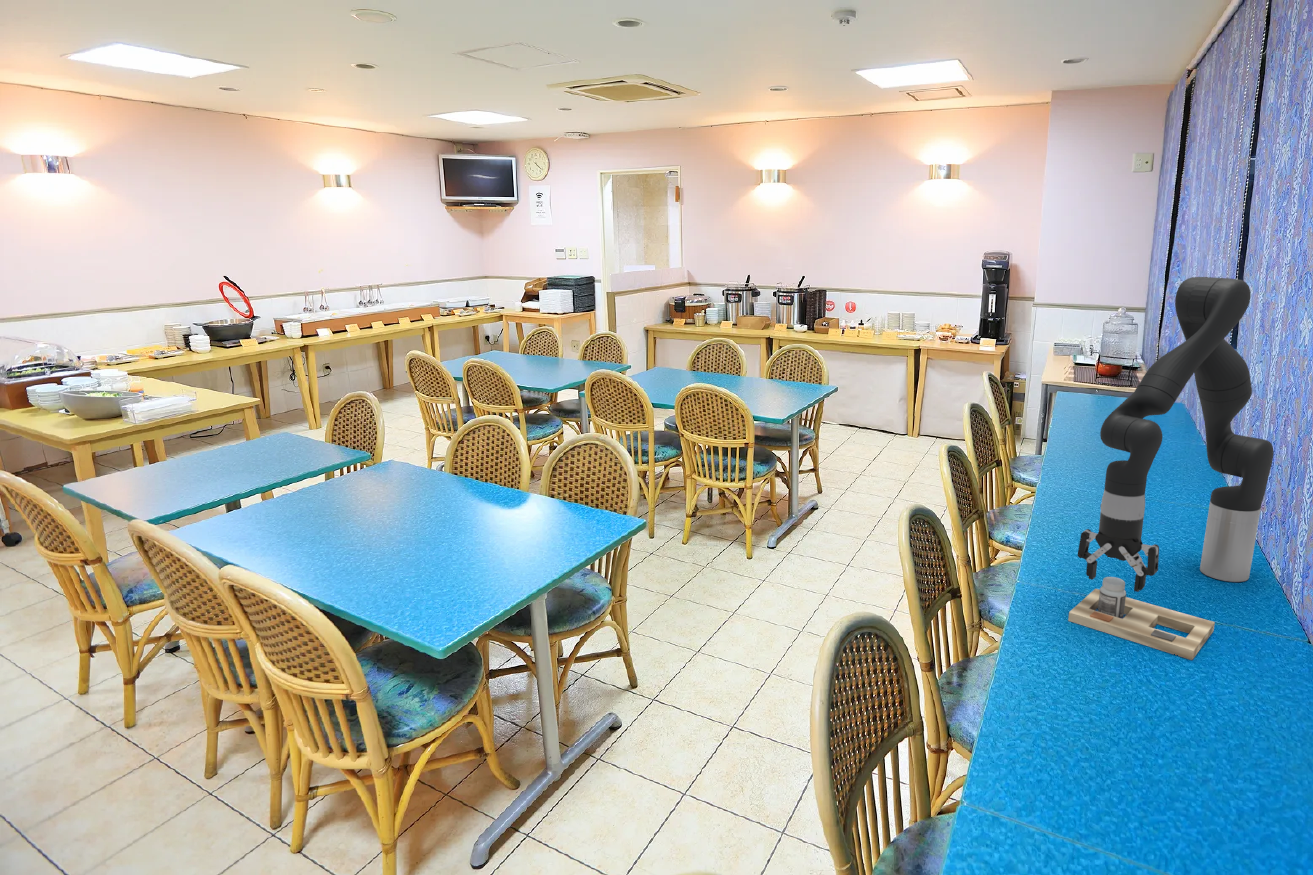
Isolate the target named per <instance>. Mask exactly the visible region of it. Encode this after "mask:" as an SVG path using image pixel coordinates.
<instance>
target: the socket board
mask: <svg viewBox="0 0 1313 875" xmlns="http://www.w3.org/2000/svg"><path fill="white" fill-rule="evenodd" d="M1099 594H1100V588H1094V589H1093V590H1092V591H1091V592H1090V593H1089V594H1087V596H1086V597H1085V598H1083V599H1082V600H1081V601H1080V602H1079V603H1078V604H1077V605H1076V606H1074V607H1073V608H1072V609H1070V611H1069V612H1068V620H1067V621H1068V622H1071V623H1074V624H1077V625H1081V626H1084V627H1086V628H1090V629H1093V630H1096V631H1100V632H1103V633H1104V634H1105V633H1106V634H1109V635H1112V636H1115V637H1118V638H1121V639H1123V640H1127V641H1131V642H1134V643H1137V644H1140V645H1143V646H1147V647H1148V648H1149V647H1150V648H1152V649H1156V650H1159V651H1161V652H1166V653H1168V654H1171V655H1174V654H1175V656H1177V655H1178V656H1177V657H1180V658H1184V659H1187V660H1190V661H1193V660H1194V658H1195V657H1196V656H1197V654H1198V653H1199V651H1200V650H1201V649H1202V647H1203V646H1204V645H1205V643H1206V642H1207V641H1208V639H1209V638H1210V636H1211V635H1212V634H1213V633H1214V630H1215V623H1216V622H1215V621H1213V620H1208V619H1204V618H1201V617H1198V616H1194V615H1190V614H1187V613H1184V612H1179V611H1178V610H1177V611H1176V610H1174V609H1173V610H1172V609H1170V608H1166V607H1163V606H1160V605H1155V604H1151V603H1148V602H1145V601H1141V600H1137V599H1134V598H1131V597H1128V596H1126V599H1125V608H1124V617H1123V619H1121V618H1118V617H1115V616H1111V615H1108V614H1105V613H1101V612H1098V603H1099ZM1157 625H1160V626H1163V627H1166V628H1170V629H1172V630H1176V631H1180V632H1183V633H1187V634H1188V635H1187V636H1186V637H1184V636H1180V635H1177V634H1174V633H1171V632H1167V631H1164V630H1161V629H1158V628H1157V629H1156V628H1155V627H1156V626H1157Z"/></svg>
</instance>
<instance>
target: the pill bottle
mask: <svg viewBox="0 0 1313 875" xmlns="http://www.w3.org/2000/svg"><path fill="white" fill-rule="evenodd" d="M1101 584H1102V586H1101V587H1100V588H1099V590H1100V594H1099V603H1098V608H1097V611H1098V612H1101V613H1105V614H1108V615H1111V616H1115V617H1118V618H1121V619H1123V618H1124V617H1125V614H1124V608H1125V599H1126V597H1127V591H1126V590H1125V588H1126V582H1125V581H1124V580H1123V579H1121V578H1120V577H1117V576H1116V577H1115V576H1105V577H1104V578H1103V579H1102V583H1101Z"/></svg>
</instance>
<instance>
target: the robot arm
mask: <svg viewBox="0 0 1313 875" xmlns="http://www.w3.org/2000/svg"><path fill="white" fill-rule="evenodd" d="M1251 296H1252V294H1251V289H1250V286H1249V284H1248V283H1247V282H1246V281H1245V280H1243V279H1236V278H1229V277H1214V276H1213V277H1211V276H1210V277H1209V276H1194V277H1190V278H1189V277H1188V278H1186V279H1184V281H1182V282H1181V283H1180V284H1179V286H1178V288H1177V290H1176V294H1175V298H1174V303H1175V304H1174V305H1175V314H1176V317H1177V320H1178V323H1179V325H1180V328H1181V331H1182V334H1183V337H1184V339H1185V341H1184V342H1182V343H1181V344H1179V345H1178V346H1176V347H1174V348H1173V349H1171V350H1170V351H1169V352H1167V353H1166V354H1164V355H1162V356H1161V357H1160V358H1157V360H1156V361H1155V362H1153V363H1152V365H1151V366H1150V367H1149V368H1148V369H1147V371H1146V372H1145V373H1144V375H1143V377H1142V378H1141V380H1140V382H1139V383H1138V385H1137V386H1136V388H1135V390H1134V392H1133V393H1132V394H1130V395H1129V396H1128V397H1127V398H1126V399H1125V400H1124V401H1122V403H1120V404H1119V405H1118V406H1117V407H1116V408H1115V409H1114V410H1113V411H1112V412H1110V413H1109V414H1108V416H1106V418H1105V420H1103V423H1102V425H1101V428H1100V434H1099V436H1100V440H1101V442H1102V444H1104V445H1105V446H1106V447H1108V448H1110V449H1115V450H1117V451H1121V452H1122V451H1123V452H1127V453H1130V454H1129V458H1128V459H1127V460H1125V459H1123V460H1122V459H1121V460H1114V461H1112V462H1110V463H1109V464H1108V465H1107V467H1106V472H1105V479H1104V480H1105V482H1104V491H1103V494H1102V498H1101V503H1100V514H1099V524H1098V532H1093V531H1092V530H1091V529H1090V528H1087V529H1085V530H1083V531H1082V532H1081V533H1080V537H1079V538H1080V539H1079V544H1078V550H1077V557H1078V558H1080V559H1084V560H1085V561H1086V571H1085V574H1086V576H1087V577H1088V579H1089V580H1092V581H1093V580H1094V579H1095V578H1096V577H1097V570H1098V568H1097V567H1098V560H1097V559H1099V558H1100V557H1101V556H1102V555H1106V556H1107V558H1110V559H1116V560H1119V561H1122V562H1124V561H1126V562H1127V563H1128V565H1129V566H1130V567H1131V568H1133V570H1134V571H1135V573H1136V574H1135V576H1134V577H1135V579H1134V586H1133V592H1135V593H1136V592H1137V593H1139V592H1140V591H1142V590H1143V589H1144V588H1145V586H1146V579H1147V576H1151V577H1153V576H1155V575H1156V573H1157V572H1158V571H1159V558H1160V557H1159V555H1160V546H1159V545H1158V544H1156V543H1154V544H1152V545H1149V544H1144V543H1143V541H1142V535H1143V534H1142V533H1143V526H1144V516H1145V511H1146V509H1145V508H1146V487H1147V479H1148V473H1149V472H1150V469H1151V467H1152V465H1153V462H1154V460H1155V458H1156V455H1157V453H1158V451H1159V450H1160V448H1161V446H1162V443H1163V432H1162V429H1161V427H1160V425H1159V424H1158V423H1157V422H1155V421H1153V420H1151V419H1145V418H1146V417H1151V416H1162V415H1165V414H1167V413H1168V412H1169V411H1170V410H1171V409H1172V407H1173V406H1174V404H1175V403H1176V401H1177V399H1178V398H1179V396H1180V395H1181V393H1182V391H1183V390H1184V388H1185V386H1186V385H1187V383H1188V382H1189V380H1190V379H1191V378H1192V376H1193V375H1194V381H1195V384H1196V385H1195V386H1196V390H1197V395H1198V397H1199V398H1198V399H1199V401H1200V406H1201V411H1202V417H1203V421H1204V430H1205V442H1206V443H1205V445H1206V455H1207V461H1208V464H1209V466H1210V468H1211V469H1212V470H1214V471H1215V472H1217V473H1220V474H1225V475H1229V476H1233V477H1239V478H1241V479H1242V480H1241V482H1240V484H1239V485H1232V486H1231V485H1229V486H1228V485H1227V486H1221V487H1216V488H1214V489H1213V490H1211V493H1210V494H1211V495H1210V500H1209V505H1208V511H1207V513H1208V514H1207V519H1206V527H1205V531H1204V532H1205V534H1204V540H1203V545H1202V546H1203V547H1202V553H1201V560H1200V566H1199V570H1200V572H1201V573H1202V574H1204V575H1205V576H1207V577H1210V578H1213V579H1216V580H1219V581H1224V582H1231V583H1241V582H1246V581H1248V580H1249V578H1250V574H1251V568H1252V563H1253V556H1254V550H1255V546H1256V539H1257V538H1256V537H1257V533H1258V526H1259V522H1260V521H1259V520H1260V514H1261V510H1262V503H1263V501H1264V497H1265V494H1266V490H1267V485H1268V480H1269V476H1270V472H1271V469H1272V465H1273V460H1274V453H1275V452H1274V446H1273V444H1272V442H1271V441H1270V440H1267V439H1264V438H1257V437H1253V436H1247V435H1240V434H1236V433H1235V432H1233V431H1232V427H1231V424H1232V423H1231V422H1232V421H1233V419H1234V418H1235V417H1236V416H1237V415H1238V414H1239V413H1240V412H1241V411H1242V410H1243V409H1244V408H1245V407H1246V405H1247V404H1248V403H1249V401H1250V399H1251V397H1252V394H1253V387H1252V381H1251V374H1250V368H1249V367H1248V364H1247V361H1245V359H1244V358H1243V357H1242V355H1241V354H1240V353H1239V352H1238V351H1237V350H1236V349H1235V348H1234V347H1233V345H1231V344H1230V343H1229V342H1228V341H1227V340H1226V339H1225V338H1226V337H1227V336H1228V335H1229V334H1230V332H1232V330H1233V329H1234V328H1235V327H1236V326H1237V324H1238V323H1239V322H1240V320H1242V318H1243V316H1244V315H1245V313H1246V312H1247V310H1248V307H1249V305H1250V301H1251ZM1094 540H1095V541H1096V543H1097V545H1098V547H1099V548H1097V550H1096V551H1093V553H1091V552H1089V549H1090V548H1089V547H1090V543H1091V542H1092V541H1094ZM1141 551H1143V552H1144V555H1145V556H1146V557H1147V566H1146V565H1145V563H1144V562H1143V559H1142V557H1141V555H1140V554H1139V552H1141Z"/></svg>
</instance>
